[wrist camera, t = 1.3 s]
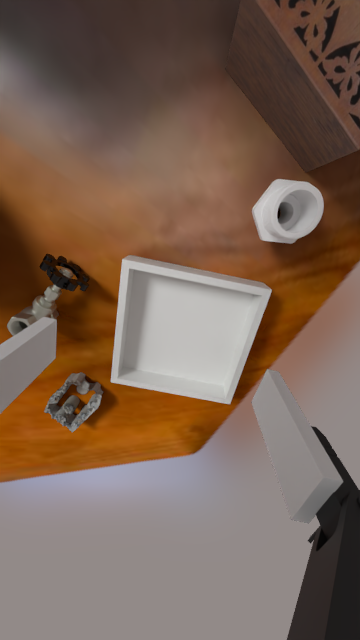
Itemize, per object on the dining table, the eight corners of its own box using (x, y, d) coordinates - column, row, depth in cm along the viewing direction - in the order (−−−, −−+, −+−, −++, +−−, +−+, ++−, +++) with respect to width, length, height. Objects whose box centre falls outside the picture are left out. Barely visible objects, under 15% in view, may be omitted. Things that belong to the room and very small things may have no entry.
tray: (129, 254, 33) (122, 259, 30) (263, 282, 34) (272, 290, 30) (117, 367, 41) (110, 382, 37) (226, 388, 42) (229, 404, 38)
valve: (58, 332, 39) (97, 280, 35) (34, 352, 33) (78, 292, 29) (23, 307, 37) (59, 250, 34) (-9, 324, 31) (31, 256, 28)
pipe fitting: (309, 205, 30) (348, 199, 23) (269, 251, 32) (293, 260, 25) (273, 172, 29) (302, 155, 21) (235, 222, 31) (249, 223, 24)
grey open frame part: (77, 365, 42) (66, 379, 38) (110, 389, 44) (103, 404, 40) (48, 399, 45) (35, 415, 41) (80, 419, 47) (70, 436, 43)
